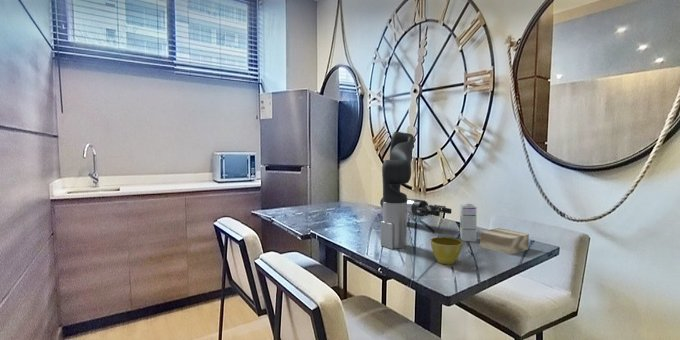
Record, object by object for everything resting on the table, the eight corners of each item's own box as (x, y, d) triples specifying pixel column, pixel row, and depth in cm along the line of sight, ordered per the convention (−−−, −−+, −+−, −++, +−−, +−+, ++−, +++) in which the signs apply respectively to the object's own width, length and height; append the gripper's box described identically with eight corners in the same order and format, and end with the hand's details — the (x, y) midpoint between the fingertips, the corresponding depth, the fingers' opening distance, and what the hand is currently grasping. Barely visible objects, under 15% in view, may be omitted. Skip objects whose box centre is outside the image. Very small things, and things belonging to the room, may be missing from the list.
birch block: (509, 255, 124) (510, 238, 123) (480, 247, 134) (480, 232, 133) (528, 250, 130) (528, 234, 130) (498, 242, 140) (498, 227, 140)
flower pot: (464, 268, 110) (464, 245, 110) (431, 266, 112) (431, 244, 112) (459, 258, 120) (459, 237, 120) (429, 256, 122) (429, 236, 121)
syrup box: (476, 241, 140) (477, 206, 140) (461, 241, 142) (462, 205, 141) (474, 238, 146) (475, 203, 145) (459, 237, 147) (460, 203, 146)
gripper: (405, 201, 160) (435, 206, 147) (425, 197, 169) (454, 202, 156) (405, 217, 161) (435, 223, 148) (425, 213, 170) (454, 218, 157)
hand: (445, 212), depth 152 cm, fingers open, 8 cm apart
